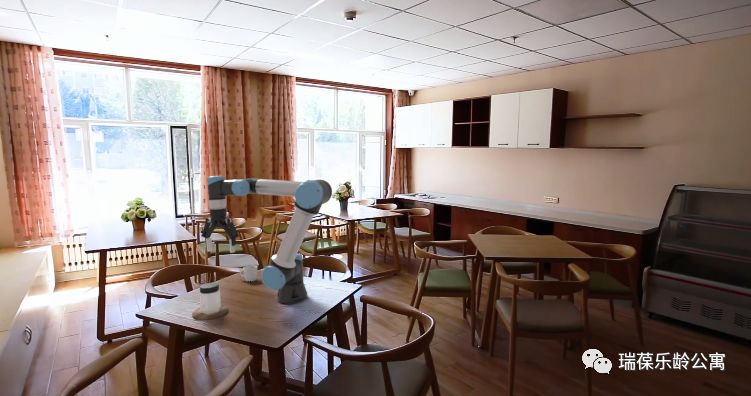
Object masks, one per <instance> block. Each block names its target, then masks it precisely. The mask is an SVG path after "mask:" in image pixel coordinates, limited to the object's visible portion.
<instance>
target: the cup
mask: <svg viewBox="0 0 751 396" xmlns="http://www.w3.org/2000/svg"><path fill="white" fill-rule="evenodd" d="M242 272H243V273H242ZM239 275H240V277H243V278H244V280H245V282H248V281H249V282H250V281H251V282H255V281H256V280H257V279H258V266H257V265H252V264H251V265H245V266H244V267H243V268H241V269H240V270H239Z"/></svg>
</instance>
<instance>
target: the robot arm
mask: <svg viewBox="0 0 751 396" xmlns="http://www.w3.org/2000/svg"><path fill="white" fill-rule="evenodd" d="M207 192H208V207H209V216H210V217H207V218H205V222H204V223H205V224H204V226H203V229H202V233H201V235H200V236H201V237H202V238H204V239H205V245H206V252H209V253H210V252H212V251H213V240H212V237H211V236H212V234H213V233H214V232H215V230H216V228H218V229H223V230H224V232H225V233H226V235H228V237H229V238H230V239H229V240H228V241H229V242H228V243H229V253H230V254H231V253H232V254H233V253H236V245H237V244H236V239H237V238H239V237H240V234H239V233H238V230H237V228H236V226H235V224H234V221H233V218H232V217H229V218H228V217H227V216H228V213H227V199H226V196H230V197H231V196H232V197H233V196H235V197H237V196H238V197H240V196H246V195H248V194H253V195H254V194H255V195H271V196H279V197H280V196H281V197H282V196H283V197H292V198H294V199H295V200H294V203H293V206H294V208H295V210H294V211H293V215H292V217H291V219H290V221H289V224H288V226H287V229H286V231H285V233H284V236H283V238H282V240H281V243H280V246H279V248H278V250H277V252H276V254H273V255H272V256H271V258H270V261H269V263H268V265H267V266H266V267H265V266H264V268H263V269H262V271H261V274H260V277H261V280H262V283H263V285H264V286H265V287H266V288H268V289H270V290H273V291H276V290H277V294H276V301H277V302H278V303H280V304H285V305H286V304H288V305H289V304H292V305H293V304H298V303H302V302H304V301H306V300H307V299H308V291H307V289H306V288H307V287H306V286H305V284H304V283H305V282H304V263H303V262H304V260H303V258H304V257H303V255H302V254H301V253H299V250H300V248H301V246H302V243H303V241H304V238H305V236H306V234H307V232H308V231H309V230H308V229H309V227H310V224H311V223H312V221H313V218H314V216H317V215H319V212H320V211H321V208H322V205H324V204H326V203H327V202H329V201H330V199H331V198H332V196H333V188H332V186H331V184H330V183H329V182H328V181H326V180H324V179H314V180H313V179H312V180H310V179H307V180H306V181H295V180H294V181H293V180H283V179H282V180H280V179H279V180H278V179H266V178H265V179H264V178H257V177H249V178H241V179H240V178H237V179H225V176H223V175H213V176H212V175H211V176H208V177H207Z"/></svg>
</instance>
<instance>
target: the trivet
mask: <svg viewBox="0 0 751 396" xmlns="http://www.w3.org/2000/svg"><path fill="white" fill-rule="evenodd" d="M228 312H229V308H228V306H226V305H222V304H221V308H220V310H219V312H215V313H211V314H204V313H201V312H200V307H199V308H197V309H195V310H194V311H192V318H193V319H195V320H198V321H209V320H214V319H218V318H221V317H223V316H225V315H226V314H228Z"/></svg>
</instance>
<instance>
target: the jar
mask: <svg viewBox="0 0 751 396" xmlns="http://www.w3.org/2000/svg"><path fill="white" fill-rule="evenodd" d="M198 294H199V308H200V312H201V313H204V314H211V313H215V312H219V310H220V308H221V305H222V303H221V289H220V284H219V283H218V282H207V283H203V284H201V285H200V286H199V293H198Z"/></svg>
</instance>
